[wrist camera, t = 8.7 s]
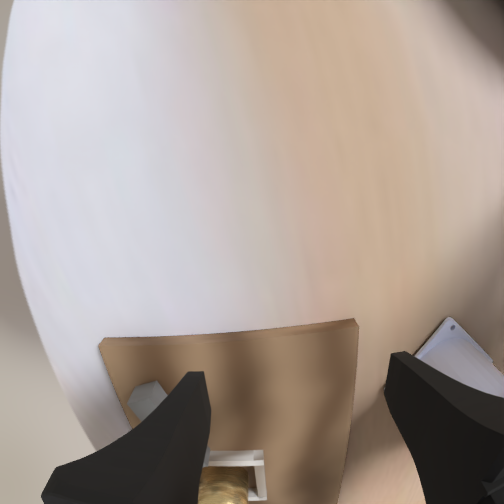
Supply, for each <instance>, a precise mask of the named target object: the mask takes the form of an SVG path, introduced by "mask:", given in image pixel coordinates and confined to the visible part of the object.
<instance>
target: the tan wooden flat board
mask: <svg viewBox="0 0 504 504" xmlns="http://www.w3.org/2000/svg"><path fill="white" fill-rule="evenodd" d="M358 338H359V326H358V324H357V322H356V321H355V319H354V318H353V319H346V320H339V321H332V322H325V323H317V324H309V325H301V326H292V327H283V328H274V329H264V330H254V331H242V332H230V333H217V334H201V335H184V336H161V337H122V338H104V339H103V340H102V342H101V343H100V344H99V345H98V346H99V349H100V352H101V355H102V358H103V360H104V363H105V366H106V368H107V371H108V374H109V376H110V379H111V381H112V384H113V386H114V389H115V391H116V394H117V396H118V398H119V401H120V403H121V405H122V408H123V410H124V412H125V414H126V416H127V419H128V421H129V423H130V425H131V427H132V429H133V428H135V427H136V426H137V425H138V424H140V423H141V422H142V421H143V420H144V419H145V418H146V417H147V416H148V415H149V414H150V413H151V412H152V411H153V410H155V409H156V408H157V407H158V406H159V404H160V403H161V402H162V401H163V400H164V399H165V398H166V397H167V396H168V395H169V393H170V392H171V391H172V390H173V389H174V387H175V386H176V385H177V384H178V383H179V381H180V380H181V379H182V378H183V377H184V375H185V374H186V373H187V372H188V371H204V374H205V380H206V385H207V390H208V395H209V400H210V405H211V425H210V434H209V439H208V444H207V449H206V454H205V458H204V463H203V467H208V466H241V467H243V468H244V469H246V471H247V472H248V475H249V487H248V504H337V502H338V498H339V493H340V488H341V482H342V477H343V471H344V466H345V460H346V453H347V447H348V440H349V433H350V426H351V418H352V409H353V400H354V390H355V380H356V368H357V354H358Z"/></svg>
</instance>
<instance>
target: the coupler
mask: <svg viewBox="0 0 504 504" xmlns="http://www.w3.org/2000/svg"><path fill="white" fill-rule="evenodd" d="M248 487H249V475H248V472H247V471H246V469H244V468H243V467H241V466H208V467H203V468H202V472H201V477H200V484H199V494H198V504H248Z"/></svg>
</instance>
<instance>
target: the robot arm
mask: <svg viewBox="0 0 504 504" xmlns="http://www.w3.org/2000/svg"><path fill="white" fill-rule="evenodd" d="M452 325H453V326H452ZM451 326H452V327H451ZM492 363H493V360H492V359H491V358H490V357H489V355H488V354H487V353H486V352H485V351H484V350H483V349H482V348H481V347H480V346H479V345H478V344H477V343H476V342H475V341H474V340H473V339H472V338H471V337H470V336H469V334H468V333H467V332H466V331H465V330H464V329H463V328H462V327H461V326H460V325H459V324H458V323H457V322H456V321H455V320H454V319H452V318H451V317H448V318H446V319H445V320H444V322H443V323H442V324H441V325H440V326H439V328H438V329H437V330H436V331H435V333H434V334H433V335H432V336H431V337H430V339H429V340H428V341H427V342H426V343H425V344H424V346H423V347H422V348H421V349H420V350H419V351H418V352H417V353H416V355H415V356H413V355H411V354H409V353H407V352H405V351H403V352H397V353H392V354H391V357H390V363H389V368H388V374H387V379H386V384H385V387H384V395H385V398H386V402H387V405H388V407H389V410H390V413H391V415H392V417H393V419H394V421H395V423H396V425H397V427H398V429H399V431H400V433H401V435H402V437H403V439H404V441H405V443H406V445H407V447H408V449H409V451H410V453H411V455H412V457H413V460H414V462H415V465H416V468H417V471H418V475H419V478H420V481H421V485H422V488H423V492H424V496H425V501H426V504H504V375H503V374H502V373H501V372H500V371H499V370H498V369H497V368H496V367H495V366H494V365H493V364H492ZM210 425H211V405H210V400H209V395H208V390H207V385H206V380H205V374H204V371H188V372H187V373H186V374H185V375H184V377H183V378H182V379H181V380H180V381H179V383H178V384H177V385H176V386H175V387H174V389H173V390H172V391H171V392H170V393H169V395H168V396H167V397H166V398H165V399H164V400H163V401H162V402H161V403H160V404H159V406H158V407H157V408H156V409H155V410H153V411H152V412H151V413H150V414H149V415H148V416H147V417H146V418H145V419H144V420H143V421H142V422H141V423H140V424H138V425H137V426H136V427H135V428H133V429H132V430H131V431H129V432H128V433H127V434H125V435H124V436H122V437H121V438H119V439H118V440H116V441H114V442H113V443H111V444H110V445H108V446H106V447H104V448H103V449H101V450H99V451H97V452H95V453H93V454H91V455H88V456H86V457H84V458H81V459H79V460H76V461H73V462H70V463H67V464H65V465H62V466H58V467H56V468H55V470H54V471H53V473H52V475H51V477H50V479H49V481H48V483H47V484H46V486H45V488H44V490H43V492H42V495H41V498H42V500H43V502H44V504H198V494H199V484H200V477H201V472H202V468H203V463H204V458H205V454H206V449H207V444H208V439H209V434H210Z"/></svg>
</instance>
